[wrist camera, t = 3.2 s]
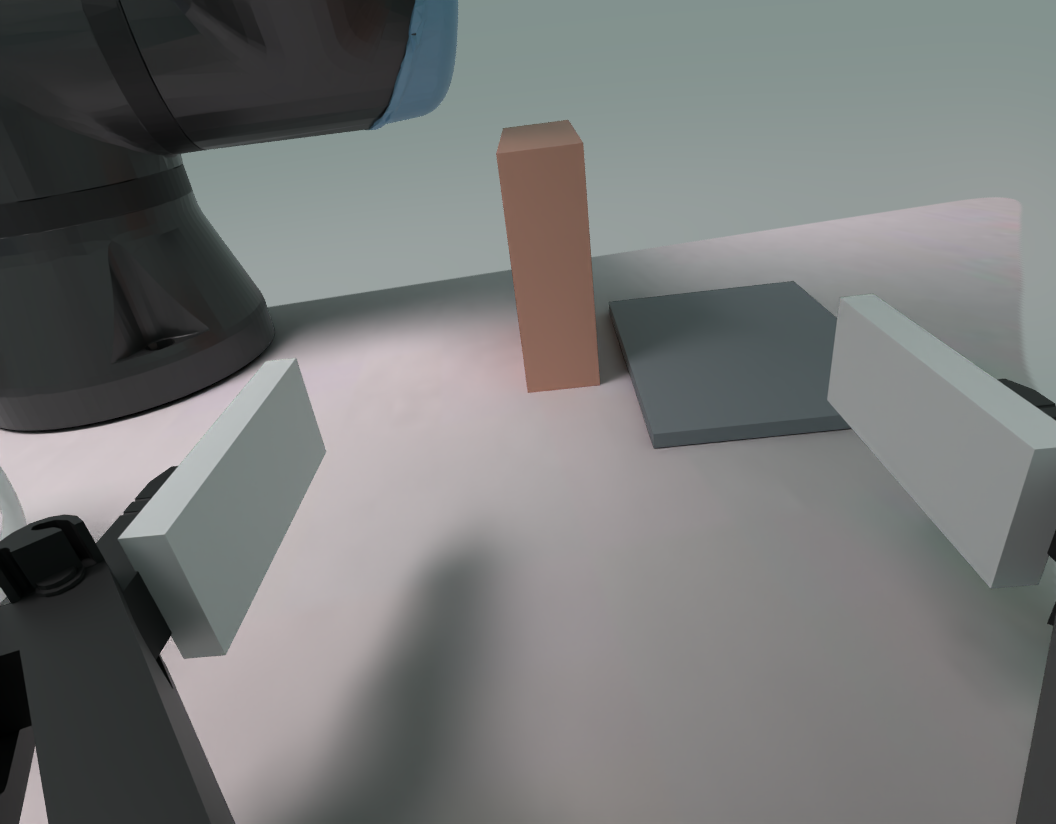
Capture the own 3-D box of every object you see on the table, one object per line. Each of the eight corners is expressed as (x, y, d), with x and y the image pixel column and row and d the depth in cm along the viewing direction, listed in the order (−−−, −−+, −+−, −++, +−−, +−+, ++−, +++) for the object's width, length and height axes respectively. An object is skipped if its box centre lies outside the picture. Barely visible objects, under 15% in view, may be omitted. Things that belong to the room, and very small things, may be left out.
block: (528, 393, 29) (496, 153, 24) (527, 319, 36) (503, 128, 32) (600, 385, 28) (583, 142, 24) (583, 312, 36) (568, 119, 31)
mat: (653, 447, 24) (653, 434, 23) (609, 312, 36) (608, 301, 35) (935, 419, 23) (938, 404, 23) (792, 291, 35) (793, 281, 35)
